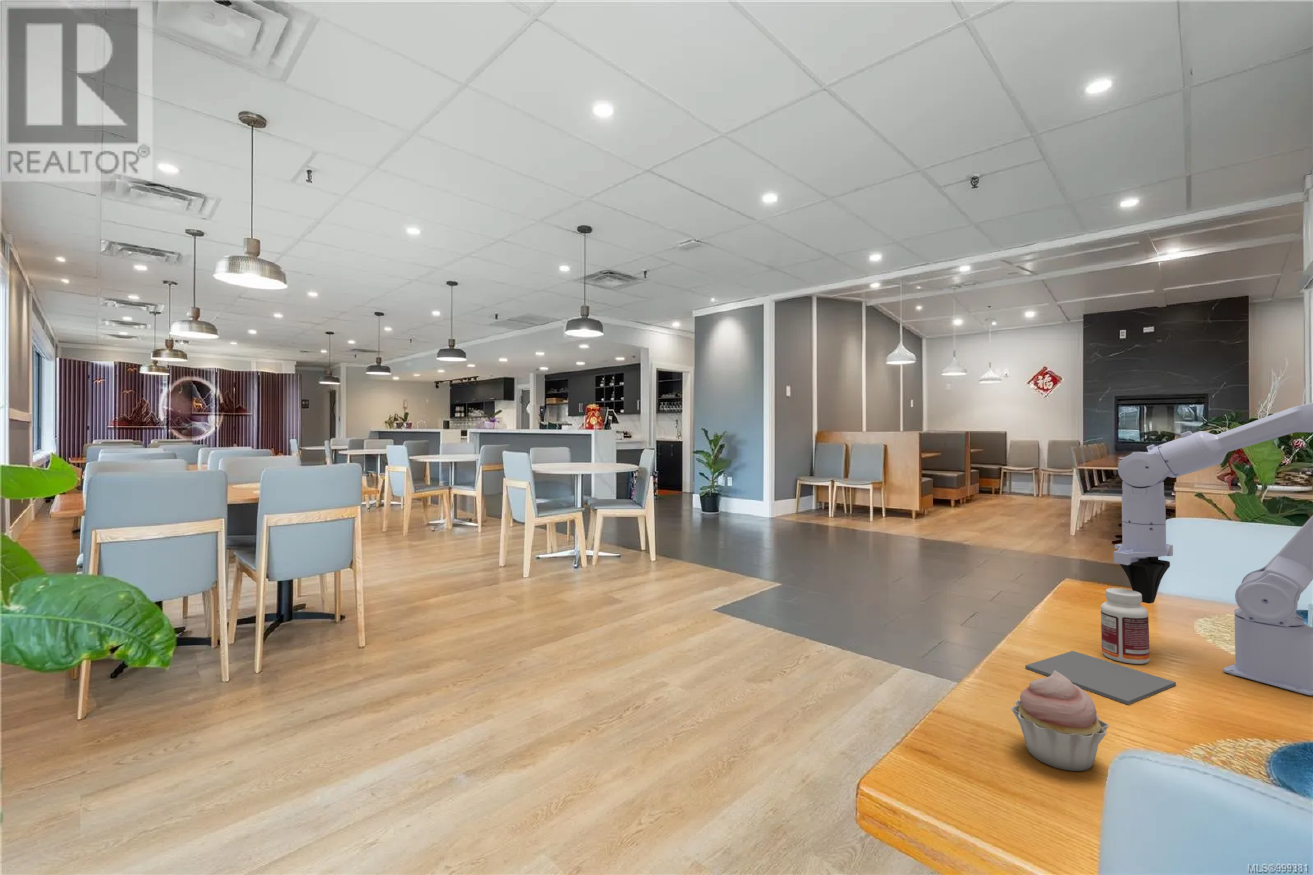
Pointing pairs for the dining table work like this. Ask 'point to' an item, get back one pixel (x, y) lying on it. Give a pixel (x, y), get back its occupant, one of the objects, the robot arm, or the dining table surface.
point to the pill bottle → (1125, 627)
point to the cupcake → (1059, 723)
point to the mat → (1103, 677)
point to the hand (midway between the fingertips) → (1144, 601)
